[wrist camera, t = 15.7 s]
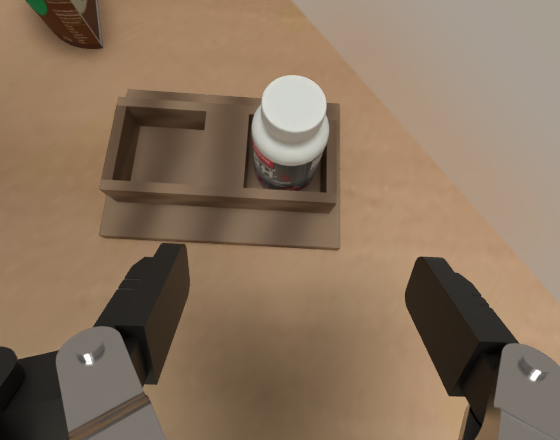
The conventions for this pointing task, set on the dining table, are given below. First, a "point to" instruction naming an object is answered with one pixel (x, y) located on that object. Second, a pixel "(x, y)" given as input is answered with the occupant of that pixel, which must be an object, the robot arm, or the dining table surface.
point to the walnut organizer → (209, 177)
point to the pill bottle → (289, 133)
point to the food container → (72, 20)
